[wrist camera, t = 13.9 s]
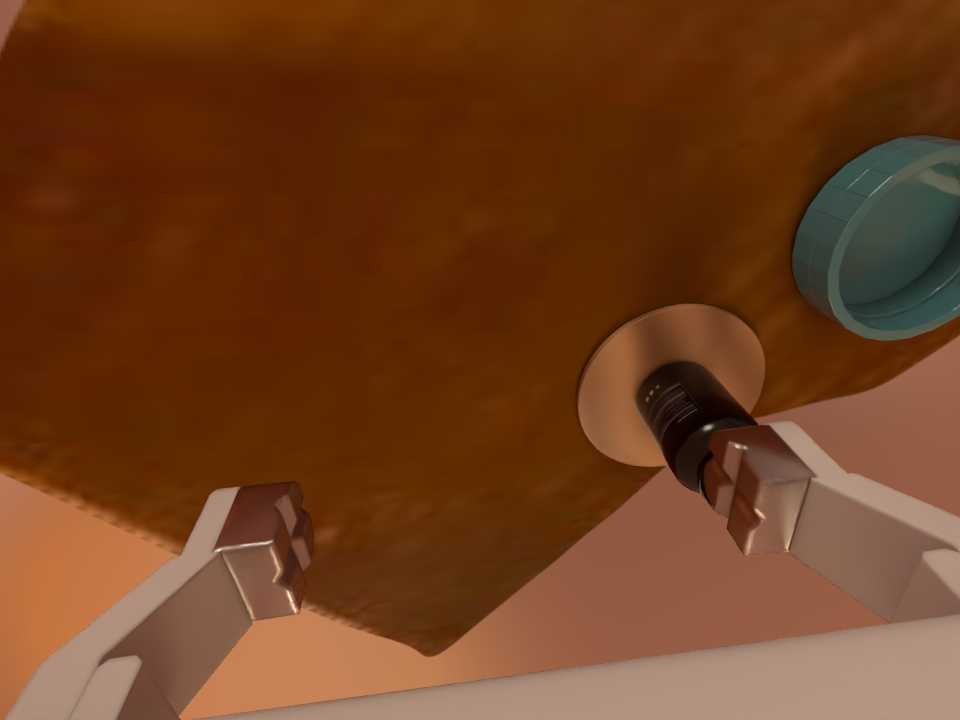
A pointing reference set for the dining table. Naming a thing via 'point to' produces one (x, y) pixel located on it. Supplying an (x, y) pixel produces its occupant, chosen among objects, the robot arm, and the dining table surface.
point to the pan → (886, 240)
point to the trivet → (650, 346)
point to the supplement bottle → (687, 417)
